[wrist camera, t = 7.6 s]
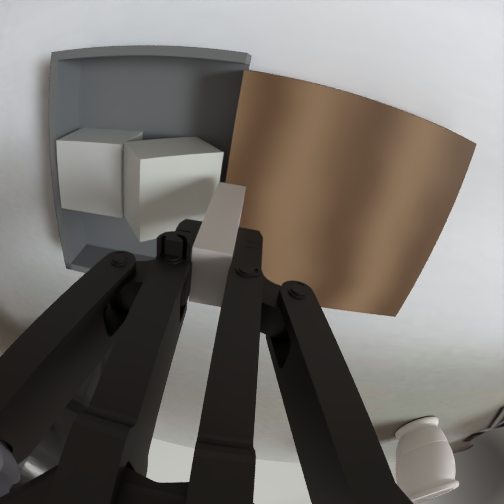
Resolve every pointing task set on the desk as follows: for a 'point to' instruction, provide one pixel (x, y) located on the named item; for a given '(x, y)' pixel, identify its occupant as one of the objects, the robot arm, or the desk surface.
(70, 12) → the desk surface
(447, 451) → the jar
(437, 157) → the board
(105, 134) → the light grey block
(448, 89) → the desk surface
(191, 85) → the tray
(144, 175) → the tile
